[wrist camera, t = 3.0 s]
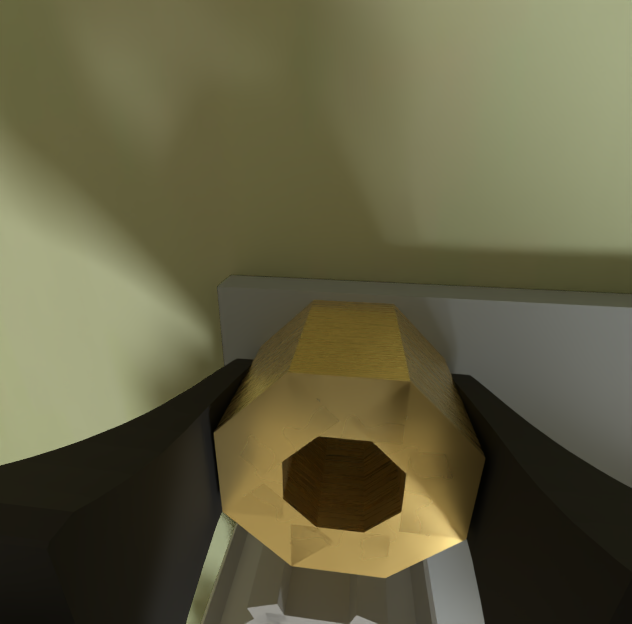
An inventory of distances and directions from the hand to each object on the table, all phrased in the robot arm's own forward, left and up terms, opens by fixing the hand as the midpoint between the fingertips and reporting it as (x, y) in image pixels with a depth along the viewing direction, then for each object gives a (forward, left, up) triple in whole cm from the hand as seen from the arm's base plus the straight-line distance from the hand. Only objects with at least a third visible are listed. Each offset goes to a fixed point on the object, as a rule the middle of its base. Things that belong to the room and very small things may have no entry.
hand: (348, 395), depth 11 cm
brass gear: (0, 0, -1) cm, 1 cm away
